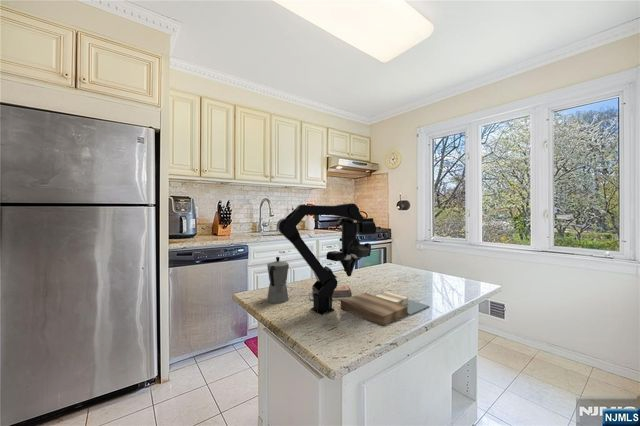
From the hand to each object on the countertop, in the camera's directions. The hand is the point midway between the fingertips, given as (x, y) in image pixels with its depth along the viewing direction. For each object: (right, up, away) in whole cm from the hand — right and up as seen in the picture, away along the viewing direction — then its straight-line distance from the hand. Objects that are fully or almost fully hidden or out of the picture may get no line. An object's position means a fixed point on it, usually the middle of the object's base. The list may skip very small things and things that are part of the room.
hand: (349, 276), depth 101 cm
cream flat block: (+17, -12, +3) cm, 21 cm away
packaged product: (-7, -13, +13) cm, 19 cm away
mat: (+19, -12, +5) cm, 23 cm away
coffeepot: (-29, -12, +8) cm, 32 cm away
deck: (+8, -12, -4) cm, 15 cm away
